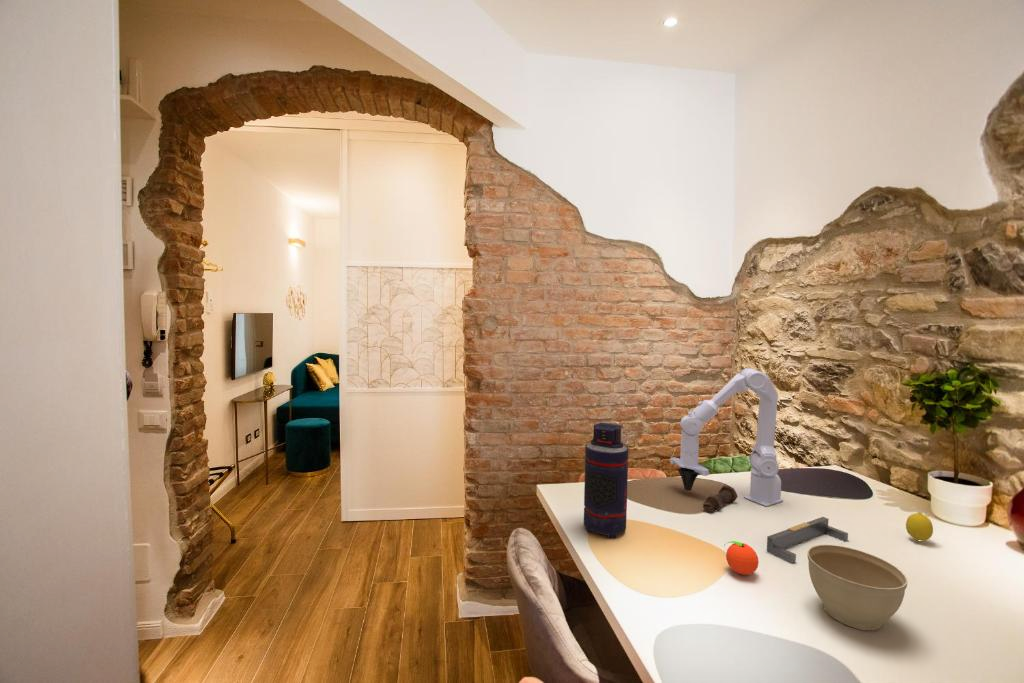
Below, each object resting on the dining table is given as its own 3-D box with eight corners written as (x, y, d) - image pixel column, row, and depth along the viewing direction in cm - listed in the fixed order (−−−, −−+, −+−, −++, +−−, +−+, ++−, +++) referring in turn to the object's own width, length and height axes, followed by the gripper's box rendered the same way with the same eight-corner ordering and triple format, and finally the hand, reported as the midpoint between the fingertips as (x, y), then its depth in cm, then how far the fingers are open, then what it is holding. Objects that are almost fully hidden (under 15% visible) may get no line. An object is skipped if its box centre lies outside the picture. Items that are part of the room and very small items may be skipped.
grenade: (618, 543, 121) (621, 432, 119) (576, 532, 127) (579, 426, 125) (633, 523, 132) (636, 422, 131) (595, 514, 139) (597, 417, 137)
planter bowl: (878, 655, 81) (881, 597, 81) (788, 604, 96) (791, 554, 95) (920, 628, 89) (923, 574, 88) (831, 584, 103) (833, 538, 103)
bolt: (704, 518, 141) (726, 504, 151) (718, 515, 138) (740, 500, 147) (695, 499, 143) (718, 486, 153) (709, 496, 140) (731, 483, 149)
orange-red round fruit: (715, 568, 109) (716, 540, 109) (729, 559, 113) (731, 532, 113) (749, 584, 103) (750, 554, 102) (763, 574, 107) (764, 545, 107)
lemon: (927, 539, 125) (929, 511, 125) (935, 548, 120) (937, 519, 120) (901, 534, 128) (903, 507, 127) (909, 543, 123) (911, 514, 122)
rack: (822, 530, 130) (822, 515, 130) (847, 540, 124) (848, 525, 124) (766, 551, 117) (767, 535, 117) (792, 563, 112) (792, 547, 112)
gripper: (664, 446, 159) (663, 484, 160) (699, 458, 146) (697, 499, 147) (678, 444, 162) (677, 481, 163) (713, 455, 150) (712, 495, 150)
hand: (688, 489), depth 155 cm, fingers closed
